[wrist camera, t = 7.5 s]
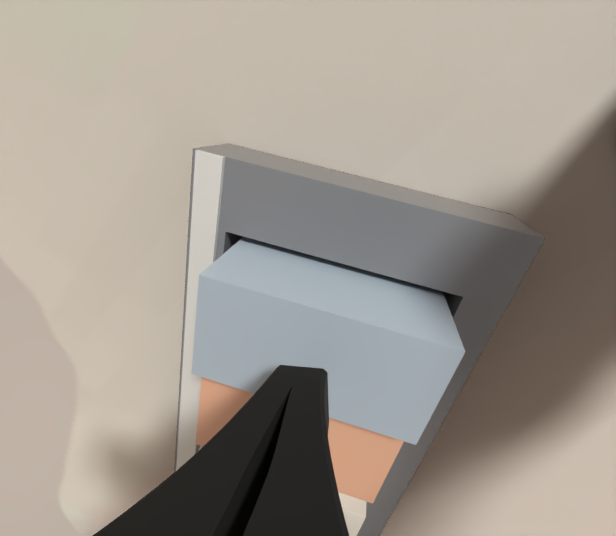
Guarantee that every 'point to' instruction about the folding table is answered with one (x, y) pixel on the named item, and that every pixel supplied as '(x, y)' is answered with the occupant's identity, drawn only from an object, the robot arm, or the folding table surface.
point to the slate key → (327, 334)
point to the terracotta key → (342, 440)
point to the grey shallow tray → (353, 261)
